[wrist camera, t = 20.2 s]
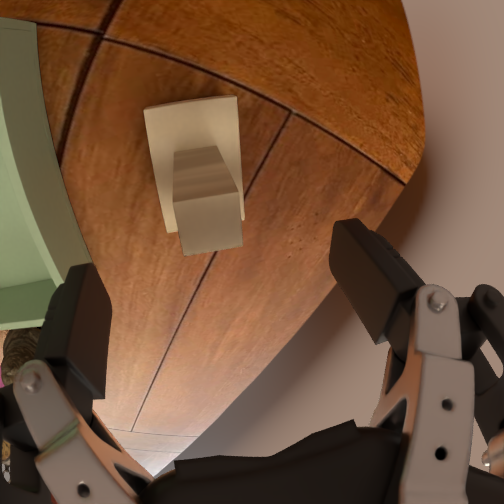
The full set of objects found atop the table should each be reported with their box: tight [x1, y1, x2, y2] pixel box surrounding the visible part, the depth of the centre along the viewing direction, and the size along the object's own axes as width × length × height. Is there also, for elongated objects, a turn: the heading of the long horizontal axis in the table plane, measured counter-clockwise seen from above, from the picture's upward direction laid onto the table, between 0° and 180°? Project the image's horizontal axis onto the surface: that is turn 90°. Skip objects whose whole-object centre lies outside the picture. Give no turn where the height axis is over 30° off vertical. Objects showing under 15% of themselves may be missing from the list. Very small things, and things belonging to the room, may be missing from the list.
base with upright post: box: [144, 95, 245, 256], centre depth 16 cm, size 8×5×10 cm, turn 3°
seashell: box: [1, 327, 41, 386], centre depth 23 cm, size 11×12×10 cm
